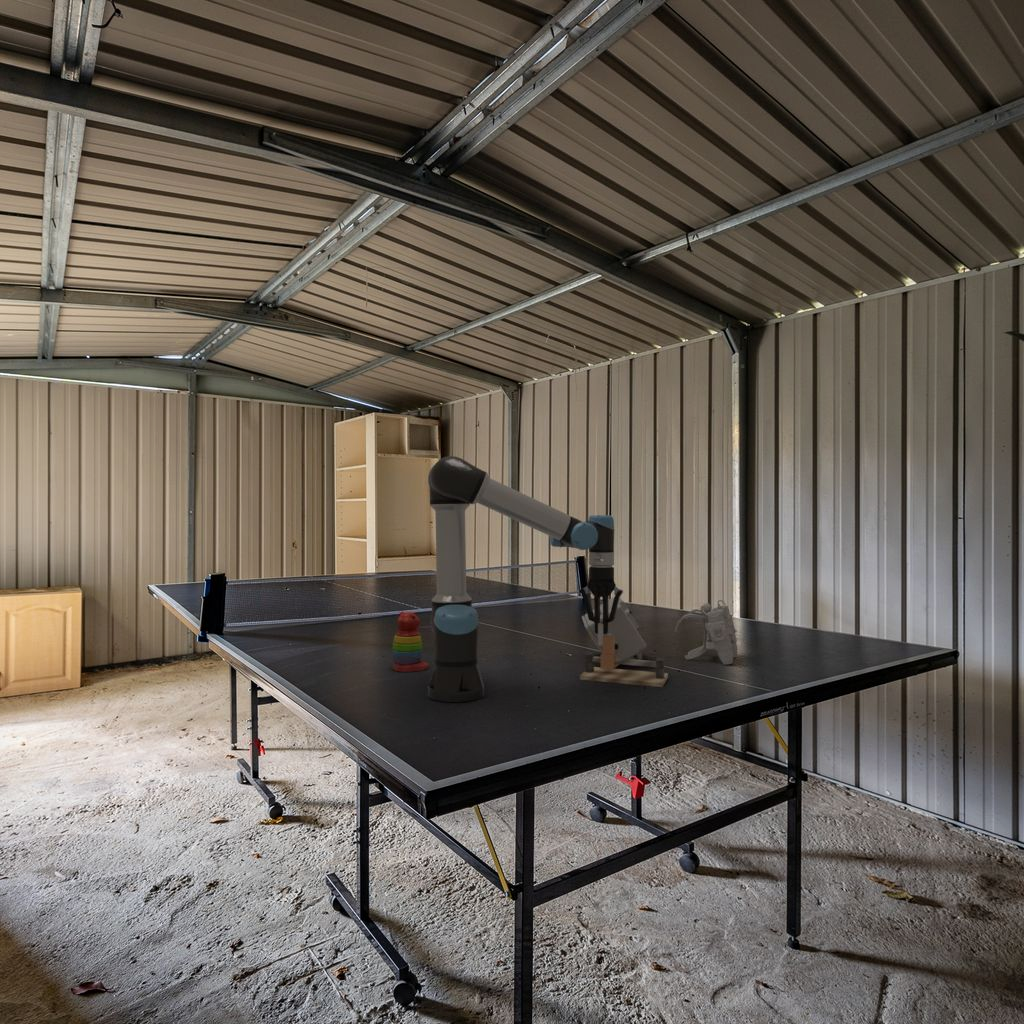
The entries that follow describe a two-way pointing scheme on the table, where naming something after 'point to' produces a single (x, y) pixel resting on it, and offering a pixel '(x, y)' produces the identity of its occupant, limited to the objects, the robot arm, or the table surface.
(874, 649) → the table surface
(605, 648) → the brown stepped block
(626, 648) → the junction box
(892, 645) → the table surface
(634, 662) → the rail board
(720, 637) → the twin engine backpack
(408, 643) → the red rounded piece
